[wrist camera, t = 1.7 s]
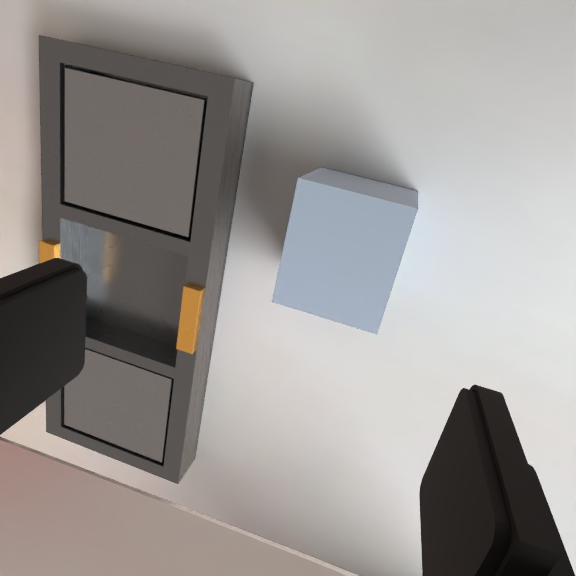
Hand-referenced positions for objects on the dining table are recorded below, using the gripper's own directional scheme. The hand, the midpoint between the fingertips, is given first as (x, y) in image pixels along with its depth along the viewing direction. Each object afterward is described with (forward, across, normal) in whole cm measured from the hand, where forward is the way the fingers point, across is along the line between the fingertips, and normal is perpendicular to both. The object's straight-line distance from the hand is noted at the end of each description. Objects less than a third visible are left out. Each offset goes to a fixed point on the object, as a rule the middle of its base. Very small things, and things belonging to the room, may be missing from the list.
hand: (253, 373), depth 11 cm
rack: (+15, +11, +6) cm, 19 cm away
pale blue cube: (+14, -1, 0) cm, 15 cm away
